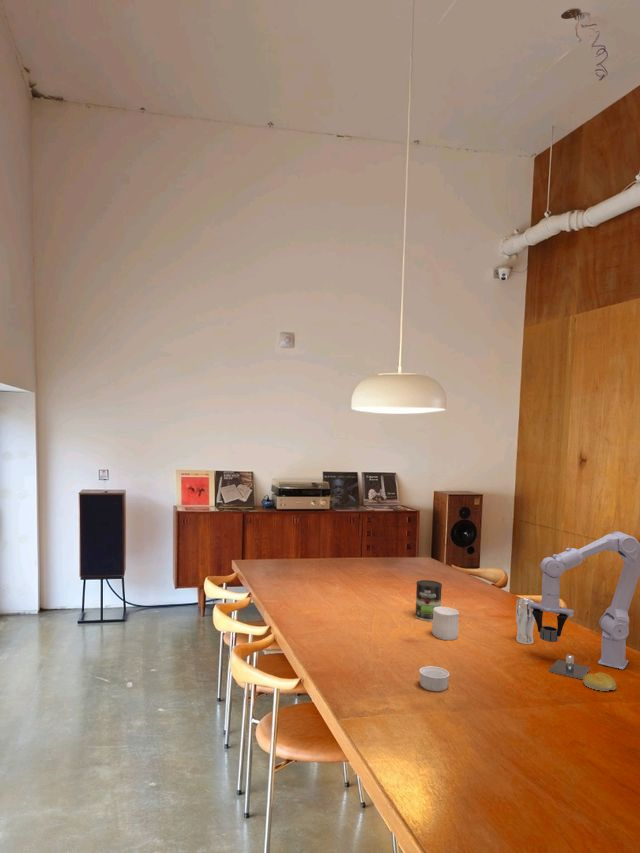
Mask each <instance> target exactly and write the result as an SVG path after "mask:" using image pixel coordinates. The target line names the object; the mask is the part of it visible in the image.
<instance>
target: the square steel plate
mask: <svg viewBox="0 0 640 853" xmlns="http://www.w3.org/2000/svg"><path fill="white" fill-rule="evenodd" d="M590 670H591V667H590V666H586V665H582V664H577V663H575V655H573V654H566V655H565V660H561V659H557V660H556V661H555V662H554V663H553V664H552V665H551V666H550V668H549V669H548V673H552V672H553V674H556V673H557V675H560V674H562V675H561V676H564V675H566V676H565V677H568V676H570V677H569V678H572V677H574V678H573V679H576V678H578V679H577V680H579V679H583V678H584V676H585V675H587V674H588V673H589V671H590ZM587 672H588V673H587Z"/></svg>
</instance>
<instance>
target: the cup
mask: <svg viewBox="0 0 640 853" xmlns="http://www.w3.org/2000/svg"><path fill="white" fill-rule="evenodd" d="M459 616H460V611H459V610H457V609H455V608H453V607H448V606H442V605H441V606H439V607H434V608H433V621H432V623H431V624H432V626H431V633H432V636H434V637H435V638H436V637H437V638H436V639H438V638H439V639H438V640H441V639H442V641H454V640H457V638H458V637H459Z"/></svg>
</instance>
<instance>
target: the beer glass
mask: <svg viewBox="0 0 640 853" xmlns="http://www.w3.org/2000/svg"><path fill="white" fill-rule="evenodd" d="M529 602H534V603H537V601H535V600H533V599H530V598H525V597H524V598H517V599H516V603H515V604H516V605H515V606H516V607H515V620H516V627H517V631H516V632H517V634H516V637H515V640H516V642H517V643H519V644H523V645H533V644H534V637H533V636H534V635H533V632H534V626H535V624H536V623H535V622H536V620H535V618H534V616H533V614H532V611H533V609H528V603H529Z"/></svg>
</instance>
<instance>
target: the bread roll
mask: <svg viewBox="0 0 640 853" xmlns="http://www.w3.org/2000/svg"><path fill="white" fill-rule="evenodd" d="M582 681H583V684H584V686H585V687H586V686H587V687H586V688H588V687H589V688H588V689H590V688H592V689H591V690H593V689H595V690H594V691H597V690H600V691H599V692H602V691H607V692H610V691H609V690H613V691H615V690H616V689H617V682H616V681H615V679H614V678H613V676H611V675H609V674H607V673H605V672H602V671H599V672H596V673H587V674H586V675H585V676H584V678H583V680H582Z"/></svg>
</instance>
